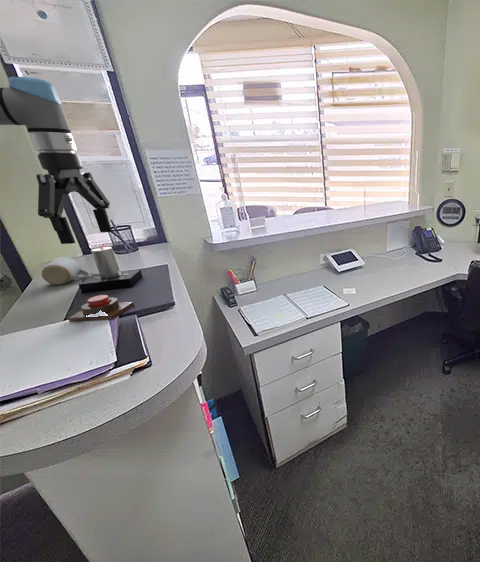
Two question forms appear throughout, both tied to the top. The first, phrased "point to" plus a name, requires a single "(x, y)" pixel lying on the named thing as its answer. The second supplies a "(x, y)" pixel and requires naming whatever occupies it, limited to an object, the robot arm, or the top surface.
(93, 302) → the power button
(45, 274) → the ceramic mug
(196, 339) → the top surface
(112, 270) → the silver cylinder
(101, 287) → the panel
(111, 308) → the button block
